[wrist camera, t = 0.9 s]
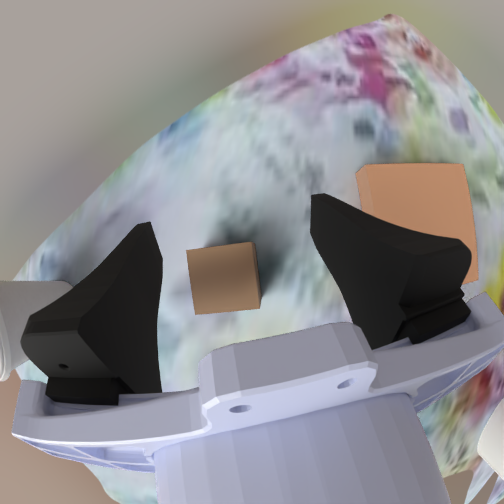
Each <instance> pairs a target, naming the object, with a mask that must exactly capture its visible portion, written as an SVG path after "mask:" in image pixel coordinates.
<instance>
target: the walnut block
mask: <svg viewBox="0 0 504 504" xmlns="http://www.w3.org/2000/svg"><path fill="white" fill-rule="evenodd" d="M186 253H187V261H188V269H189V276H190V283H191V290H192V297H193V304H194V310H195V315H197V314H209V313H221V312H231V311H241V310H251V309H260V304H261V299H262V295H261V287H260V279H259V271H258V263H257V256H256V248H255V243H253V242H245V243H237V244H230V245H222V246H214V247H207V248H199V249H192V250H186Z"/></svg>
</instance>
